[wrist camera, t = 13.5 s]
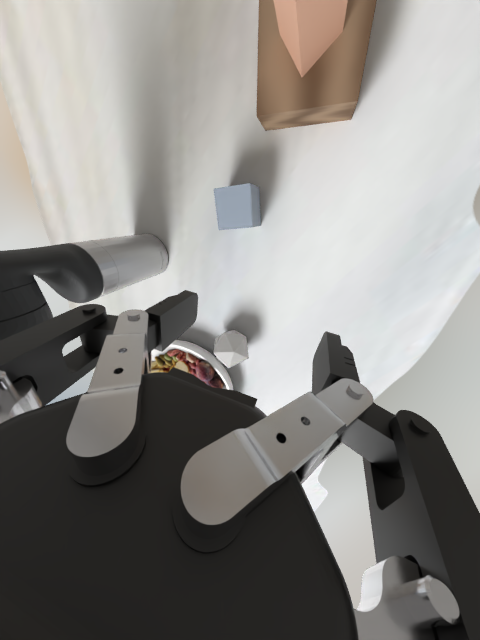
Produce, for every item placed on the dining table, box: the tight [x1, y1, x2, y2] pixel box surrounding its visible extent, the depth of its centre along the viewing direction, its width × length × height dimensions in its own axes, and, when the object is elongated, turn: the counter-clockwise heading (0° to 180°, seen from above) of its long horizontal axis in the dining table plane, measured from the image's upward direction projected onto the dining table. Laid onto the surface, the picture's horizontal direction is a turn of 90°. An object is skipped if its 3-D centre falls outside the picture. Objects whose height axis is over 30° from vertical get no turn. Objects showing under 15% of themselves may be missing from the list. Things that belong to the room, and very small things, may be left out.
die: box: [214, 330, 249, 368], centre depth 48 cm, size 8×9×10 cm
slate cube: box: [214, 183, 261, 230], centre depth 35 cm, size 6×6×6 cm
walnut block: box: [257, 0, 377, 131], centre depth 25 cm, size 12×12×6 cm
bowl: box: [151, 340, 233, 390], centre depth 60 cm, size 30×30×8 cm
